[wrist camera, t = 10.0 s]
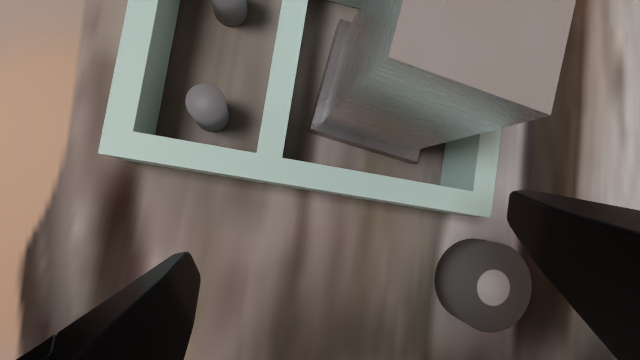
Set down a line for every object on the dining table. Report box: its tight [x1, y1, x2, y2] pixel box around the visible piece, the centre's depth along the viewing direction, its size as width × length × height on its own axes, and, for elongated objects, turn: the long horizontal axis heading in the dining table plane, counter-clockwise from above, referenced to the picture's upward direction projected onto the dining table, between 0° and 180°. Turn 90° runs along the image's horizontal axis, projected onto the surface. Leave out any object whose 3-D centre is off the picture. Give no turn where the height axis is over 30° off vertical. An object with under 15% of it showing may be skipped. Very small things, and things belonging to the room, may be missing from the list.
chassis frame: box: [98, 0, 502, 218], centre depth 20 cm, size 12×19×4 cm, turn 81°
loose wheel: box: [435, 239, 532, 332], centre depth 22 cm, size 5×5×2 cm
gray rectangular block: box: [308, 0, 576, 163], centre depth 17 cm, size 6×6×11 cm
